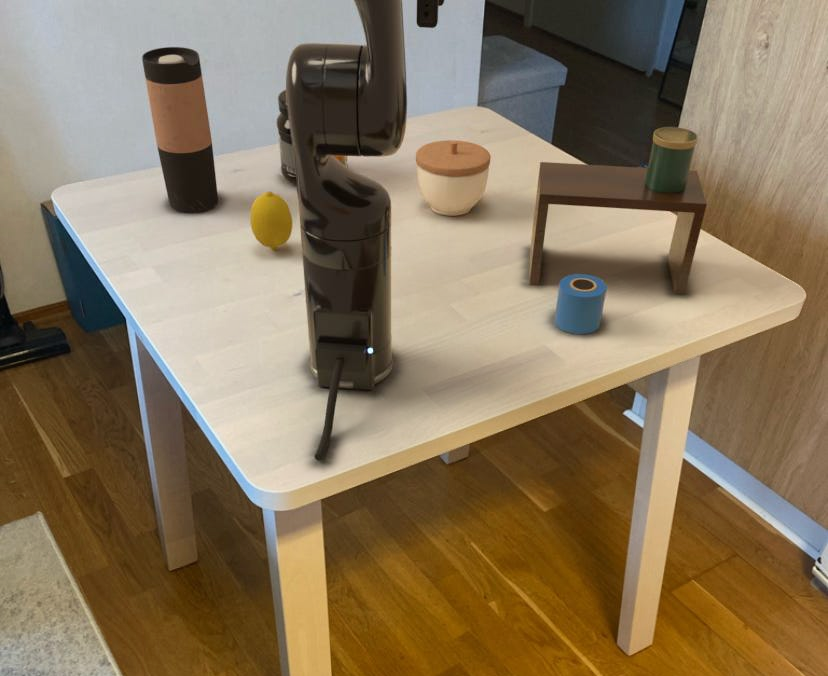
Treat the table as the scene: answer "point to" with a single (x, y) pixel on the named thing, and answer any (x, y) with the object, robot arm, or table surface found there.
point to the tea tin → (670, 159)
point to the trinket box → (452, 175)
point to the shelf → (619, 192)
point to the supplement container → (290, 142)
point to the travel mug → (181, 127)
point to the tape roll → (580, 303)
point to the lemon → (271, 220)
